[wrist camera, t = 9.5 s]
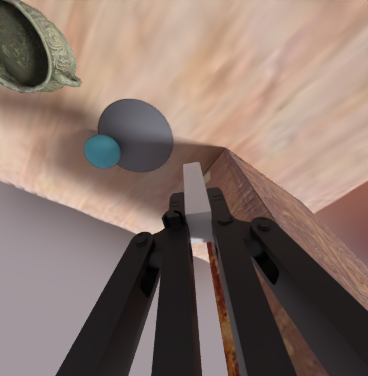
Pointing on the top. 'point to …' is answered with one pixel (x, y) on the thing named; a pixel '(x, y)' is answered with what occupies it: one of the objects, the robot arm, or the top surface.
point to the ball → (102, 151)
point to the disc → (137, 134)
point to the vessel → (33, 51)
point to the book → (300, 232)
